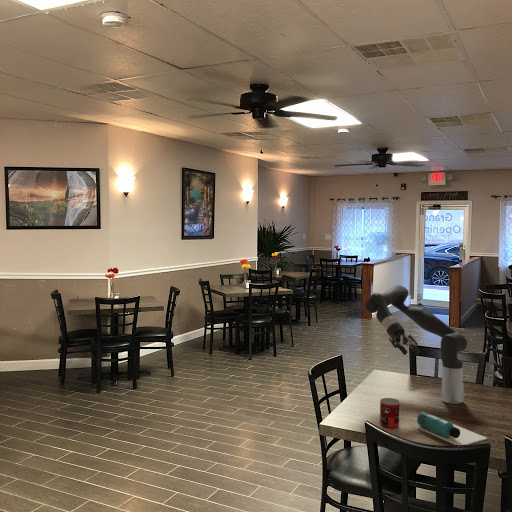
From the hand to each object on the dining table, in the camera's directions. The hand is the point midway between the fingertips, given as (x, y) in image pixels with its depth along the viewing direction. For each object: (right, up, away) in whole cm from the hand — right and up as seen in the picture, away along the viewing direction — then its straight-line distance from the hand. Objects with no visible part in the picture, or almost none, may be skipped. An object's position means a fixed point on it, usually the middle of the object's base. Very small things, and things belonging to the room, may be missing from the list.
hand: (412, 353), depth 242 cm
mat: (+9, -29, -24) cm, 38 cm away
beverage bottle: (-2, -24, -16) cm, 29 cm away
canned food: (-14, -28, -16) cm, 35 cm away
